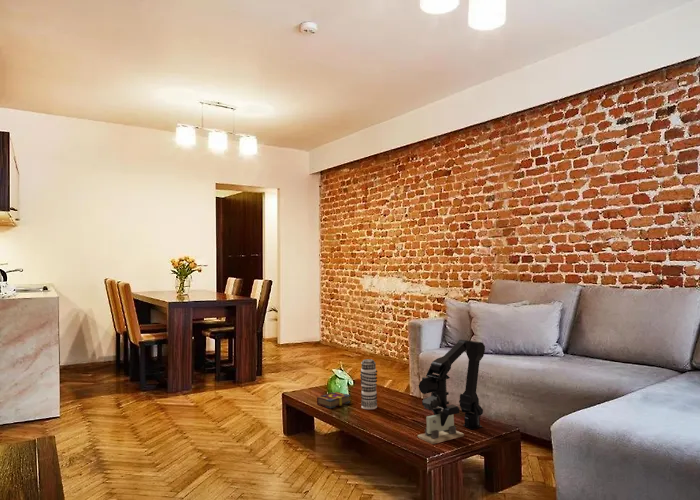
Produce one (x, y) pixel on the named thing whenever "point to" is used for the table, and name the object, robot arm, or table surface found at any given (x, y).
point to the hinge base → (440, 435)
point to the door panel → (438, 423)
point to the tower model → (368, 384)
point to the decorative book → (333, 399)
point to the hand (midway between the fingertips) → (440, 425)
